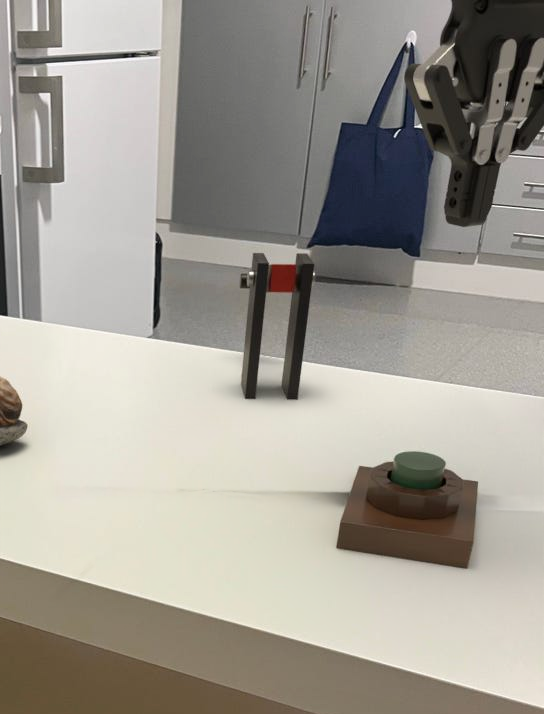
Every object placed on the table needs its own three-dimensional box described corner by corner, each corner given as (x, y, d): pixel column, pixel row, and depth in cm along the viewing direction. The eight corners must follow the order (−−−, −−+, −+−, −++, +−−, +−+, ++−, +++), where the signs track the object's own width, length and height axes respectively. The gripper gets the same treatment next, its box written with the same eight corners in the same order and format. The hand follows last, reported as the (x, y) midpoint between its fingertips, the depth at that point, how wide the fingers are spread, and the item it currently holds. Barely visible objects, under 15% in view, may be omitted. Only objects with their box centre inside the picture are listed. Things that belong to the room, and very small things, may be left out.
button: (392, 470, 76) (396, 448, 75) (442, 477, 75) (447, 454, 74) (387, 488, 73) (391, 466, 72) (439, 495, 72) (444, 472, 71)
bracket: (222, 388, 104) (234, 246, 96) (301, 389, 103) (319, 247, 96) (230, 422, 95) (243, 270, 88) (316, 424, 95) (337, 270, 88)
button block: (355, 490, 82) (362, 443, 80) (472, 507, 79) (483, 459, 77) (335, 548, 73) (343, 498, 71) (466, 569, 71) (479, 517, 68)
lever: (238, 293, 105) (240, 268, 104) (287, 293, 104) (289, 269, 104) (254, 291, 92) (256, 263, 91) (309, 292, 92) (312, 264, 91)
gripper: (493, -107, 53) (430, 244, 62) (663, -99, 58) (581, 225, 67) (393, -97, 58) (348, 223, 68) (555, -90, 63) (493, 207, 73)
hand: (464, 224), depth 67 cm, fingers closed
